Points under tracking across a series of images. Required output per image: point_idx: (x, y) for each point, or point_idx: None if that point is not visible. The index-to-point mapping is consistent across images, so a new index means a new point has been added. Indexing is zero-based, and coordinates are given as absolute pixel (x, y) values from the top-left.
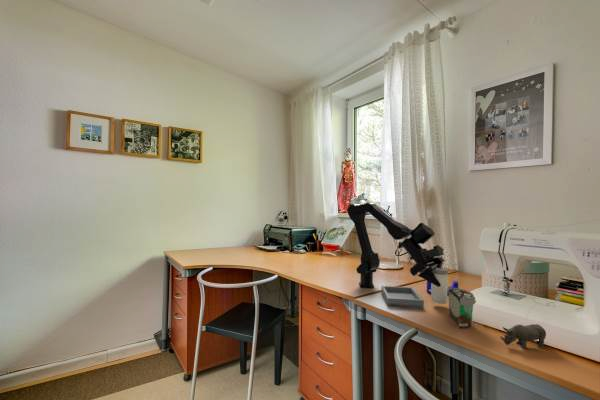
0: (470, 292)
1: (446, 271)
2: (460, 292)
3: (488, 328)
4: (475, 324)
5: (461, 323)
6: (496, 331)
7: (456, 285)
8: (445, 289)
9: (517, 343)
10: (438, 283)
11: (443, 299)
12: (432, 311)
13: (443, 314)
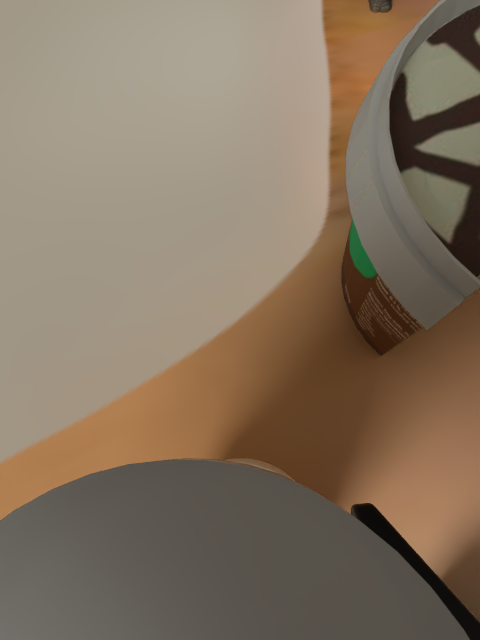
0: (418, 30)
1: (205, 477)
2: (427, 154)
3: (332, 136)
4: (344, 197)
5: None
6: (333, 101)
7: None
8: (254, 464)
9: (390, 5)
10: (399, 541)
11: (280, 470)
12: (411, 496)
13: (383, 403)
